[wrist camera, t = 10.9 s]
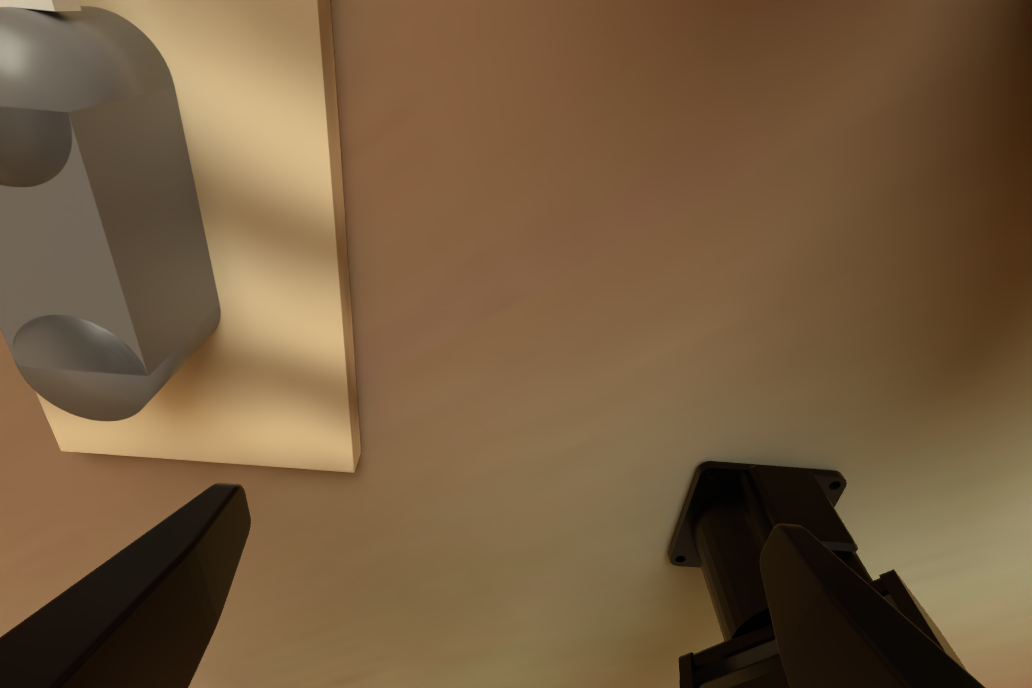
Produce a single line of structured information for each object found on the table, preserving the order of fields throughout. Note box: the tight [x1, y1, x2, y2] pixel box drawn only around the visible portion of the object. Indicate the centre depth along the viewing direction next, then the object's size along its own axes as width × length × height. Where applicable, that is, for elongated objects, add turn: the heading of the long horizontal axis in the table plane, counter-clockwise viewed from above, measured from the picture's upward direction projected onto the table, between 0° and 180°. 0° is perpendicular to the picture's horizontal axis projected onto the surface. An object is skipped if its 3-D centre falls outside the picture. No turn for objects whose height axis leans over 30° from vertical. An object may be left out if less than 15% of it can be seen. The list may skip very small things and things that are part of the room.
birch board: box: [0, 0, 361, 473], centre depth 18 cm, size 22×12×1 cm, turn 175°
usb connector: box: [0, 0, 221, 421], centre depth 15 cm, size 13×4×4 cm, turn 175°
